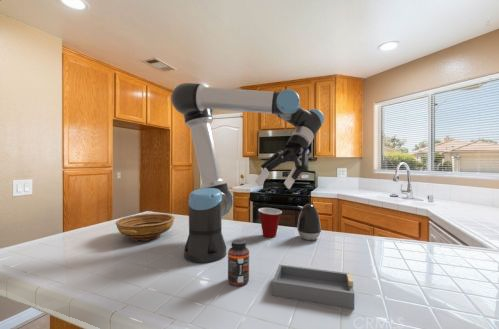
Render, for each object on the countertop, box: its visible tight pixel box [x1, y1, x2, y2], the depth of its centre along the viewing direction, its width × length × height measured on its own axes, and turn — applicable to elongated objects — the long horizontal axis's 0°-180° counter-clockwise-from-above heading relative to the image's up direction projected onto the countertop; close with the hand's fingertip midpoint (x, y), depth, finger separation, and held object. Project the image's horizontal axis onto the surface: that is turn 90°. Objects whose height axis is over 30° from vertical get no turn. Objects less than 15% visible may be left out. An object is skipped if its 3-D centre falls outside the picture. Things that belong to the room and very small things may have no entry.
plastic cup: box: [258, 207, 283, 239], centre depth 108 cm, size 11×11×12 cm
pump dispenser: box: [296, 203, 322, 241], centre depth 105 cm, size 10×10×15 cm
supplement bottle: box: [227, 238, 250, 287], centre depth 67 cm, size 6×6×11 cm
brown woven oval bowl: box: [115, 213, 176, 241], centre depth 107 cm, size 30×24×8 cm
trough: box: [272, 264, 355, 310], centre depth 62 cm, size 19×10×5 cm, turn 73°
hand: (271, 184), depth 79 cm, fingers open, 13 cm apart
